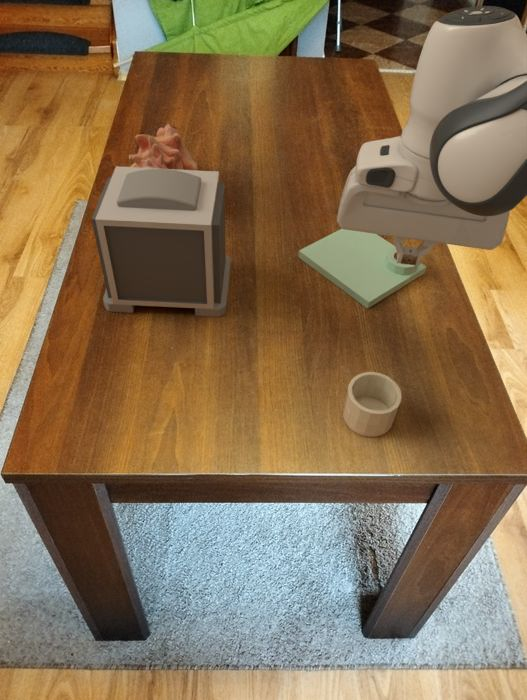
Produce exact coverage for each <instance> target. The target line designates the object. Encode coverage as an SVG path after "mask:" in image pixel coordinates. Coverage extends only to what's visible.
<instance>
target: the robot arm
mask: <svg viewBox="0 0 527 700" xmlns="http://www.w3.org/2000/svg"><path fill="white" fill-rule="evenodd" d="M414 72H415V73H414V76H413V81H412V84H411V88H410V93H409V115H408V118H407V121H406V123H405V125H404V126H403V129H402V131H401V135H398V136H394V137H388V138H383V139H377V140H370V141H366V142H364V143H362V144H361V147H360V148H359V150H358V153H357V158H356V162H355V166H354V167H353V168H352V169H351V170H350V172H349V173H348V175H347V178H346V180H345V183H344V186H343V190H342V194H341V196H340V201H339V206H338V210H337V216H336V223H337V225H338V226H339V228H340V229H345V230H352V231H359V232H366V233H373V234H377V235H379V236H381V235H382V236H389V237H393V245H394V246H395V247H396V249H397V251H398V255H397V263H401V264H409V265H415V266H419V265H420V263H421V262H422V258H423V257H425V256H426V255H427V254H429V252H431V251H432V250H434V248H435V246H436V243H437V244H443V245H444V244H445V245H452V246H459V247H466V248H472V249H478V250H479V249H480V250H486V251H492V250H495V249H496V248H498V247H499V246H501V245H502V243H503V240H504V238H505V234H506V232H507V231H506V230H507V228H508V223H509V218H510V212H511V211H512V210H514V209H515V208H516V207H517V206H518V205H519V204H520V203H521V202H522V201H523V200H524V199H525V198H526V197H527V33H526V31H525V30H524V28H523V25H522V22H521V21H520V18H519V17H518V15H517V14H516V13H515V12H514V11H512V10H509V9H506V8H505V7H500V6H495V5H493V6H492V5H477V6H469V7H462V8H459V9H456V10H453V11H451V12H448V13H447V14H445V15H443V16H441V17H439V18H438V19H437V20H436V21H434V23H433V24H432V26H431V28H430V29H429V31H428V33H427V35H426V38H425V41H424V44H423V46H422V49H421V53H420V55H419V59H418V62H417V65H416V69H415V71H414ZM406 239H410V240H416V241H422V242H421V243H420V244H419V245H418V246H417V247H413V246H408V245H407V246H406V244H405V242H406Z"/></svg>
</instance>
